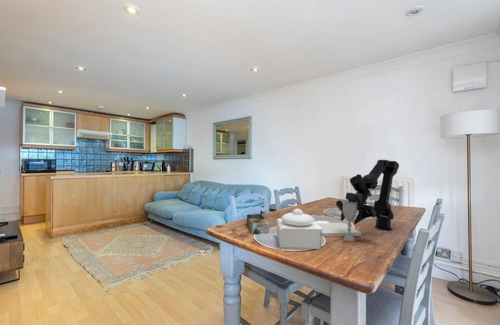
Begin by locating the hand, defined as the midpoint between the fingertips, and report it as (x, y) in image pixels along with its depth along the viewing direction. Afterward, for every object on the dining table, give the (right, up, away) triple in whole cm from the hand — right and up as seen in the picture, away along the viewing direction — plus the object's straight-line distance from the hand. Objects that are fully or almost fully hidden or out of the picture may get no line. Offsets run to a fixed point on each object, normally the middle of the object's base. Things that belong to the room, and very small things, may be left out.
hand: (347, 221), depth 112 cm
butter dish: (-25, -9, -4) cm, 27 cm away
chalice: (+1, -9, +1) cm, 9 cm away
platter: (-1, -8, +15) cm, 17 cm away
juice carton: (-43, -8, +17) cm, 47 cm away
